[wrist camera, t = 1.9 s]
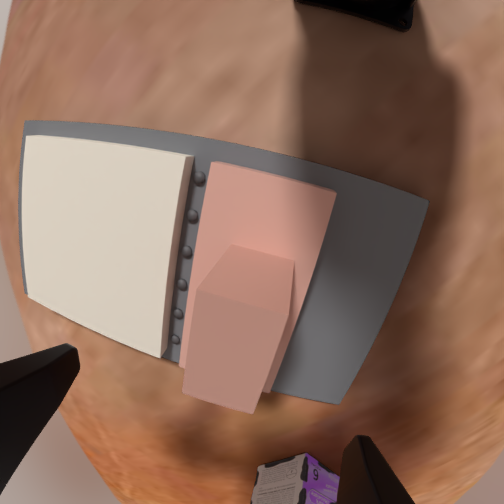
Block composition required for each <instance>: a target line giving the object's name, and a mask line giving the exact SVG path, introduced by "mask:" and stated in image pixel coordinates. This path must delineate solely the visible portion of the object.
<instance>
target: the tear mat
mask: <svg viewBox="0 0 504 504" xmlns="http://www.w3.org/2000/svg"><path fill="white" fill-rule="evenodd" d="M31 135H44V136H56V137H67V138H77V139H86V140H95V141H103V142H111V143H118V144H125V145H132V146H139V147H145V148H152V149H158V150H163V151H169V152H175V153H180V154H186V155H191V156H194V161H193V166H192V171H191V177H190V182H189V188H188V193H187V199H186V205H185V211H184V217H183V223H182V229H181V236H180V242H179V249H178V256H177V264H176V271H175V279H174V287H173V296H172V305H171V314H170V324H169V334H168V346H167V349H166V350H165V352H164V353H163V355H162V356H161V357H163V358H166V359H168V360H171V361H174V362H177V363H179V360H180V351H181V343H182V335H183V327H184V319H185V312H186V305H187V298H188V291H189V284H190V277H191V271H192V265H193V258H194V252H195V246H196V240H197V234H198V229H199V223H200V217H201V212H202V206H203V201H204V196H205V191H206V186H207V180H208V175H209V171H210V166H211V162H215V161H220V162H225V163H229V164H234V165H238V166H243V167H247V168H251V169H256V170H260V171H264V172H268V173H272V174H276V175H280V176H284V177H288V178H292V179H296V180H299V181H303V182H307V183H311V184H314V185H318V186H321V187H325V188H328V189H332V190H334V191H335V192H336V193H337V194H336V198H335V201H334V205H333V209H332V212H331V215H330V219H329V222H328V226H327V229H326V232H325V236H324V239H323V242H322V246H321V249H320V252H319V255H318V258H317V262H316V265H315V268H314V271H313V274H312V277H311V280H310V283H309V286H308V289H307V292H306V295H305V298H304V301H303V304H302V307H301V310H300V313H299V316H298V318H297V321H296V324H295V327H294V330H293V332H292V335H291V338H290V341H289V343H288V346H287V349H286V352H285V354H284V357H283V360H282V362H281V365H280V367H279V370H278V373H277V375H276V378H275V380H274V383H273V385H272V388H271V391H275V392H279V393H283V394H287V395H292V396H297V397H301V398H306V399H311V400H316V401H321V402H326V403H332V404H338V405H339V404H340V402H341V401H342V399H343V397H344V396H345V394H346V392H347V391H348V389H349V387H350V385H351V384H352V382H353V380H354V378H355V377H356V375H357V373H358V371H359V369H360V368H361V366H362V364H363V362H364V360H365V358H366V356H367V354H368V352H369V351H370V349H371V347H372V345H373V343H374V341H375V339H376V337H377V335H378V333H379V331H380V328H381V326H382V324H383V322H384V320H385V318H386V316H387V314H388V311H389V309H390V307H391V305H392V302H393V300H394V298H395V296H396V293H397V291H398V288H399V286H400V284H401V281H402V279H403V276H404V274H405V271H406V269H407V266H408V264H409V261H410V258H411V256H412V253H413V250H414V248H415V245H416V242H417V239H418V236H419V233H420V230H421V227H422V224H423V221H424V218H425V215H426V212H427V209H428V205H429V202H430V201H429V200H426V199H424V198H421V197H419V196H416V195H413V194H411V193H408V192H405V191H403V190H400V189H397V188H394V187H391V186H388V185H385V184H383V183H380V182H377V181H374V180H371V179H368V178H364V177H361V176H358V175H355V174H352V173H349V172H345V171H342V170H339V169H335V168H332V167H328V166H325V165H321V164H318V163H314V162H310V161H307V160H303V159H299V158H295V157H291V156H287V155H283V154H279V153H275V152H271V151H267V150H262V149H258V148H254V147H249V146H244V145H240V144H235V143H230V142H225V141H220V140H214V139H209V138H204V137H198V136H192V135H186V134H180V133H173V132H167V131H160V130H152V129H144V128H136V127H128V126H118V125H108V124H96V123H83V122H65V121H25V123H24V130H23V138H22V147H21V158H20V171H19V198H18V215H19V242H20V256H21V267H22V276H23V284H24V291H25V294H27V295H28V292H27V284H26V276H25V267H24V255H23V240H22V177H23V162H24V151H25V141H26V136H31ZM199 171H201V172H203V173H204V174H205V176H206V178H205V181H204V182H203V183H200V184H197V183H195V182H194V180H193V175H194V174H195V173H196V172H199ZM189 210H196V211H197V212H198V219H197V220H195V221H194V222H190V221H189V220H188V219H187V218H186V214H187V212H188V211H189ZM186 245H187V246H190V247H191V249H192V254H191V255H190V256H189V257H184V256H182V254H181V248H182V247H184V246H186ZM179 279H184V280H186V282H187V287H186V288H185V289H184V290H180V289H178V288H177V286H176V282H177V281H178V280H179ZM176 308H179V309H181V310H182V311H183V316H182V317H181V318H180V319H177V318H175V317H174V316H173V311H174V310H175V309H176ZM172 335H177V336H178V337H179V338H180V341H179V343H178V344H173V343H172V342H171V341H170V337H171V336H172Z"/></svg>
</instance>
